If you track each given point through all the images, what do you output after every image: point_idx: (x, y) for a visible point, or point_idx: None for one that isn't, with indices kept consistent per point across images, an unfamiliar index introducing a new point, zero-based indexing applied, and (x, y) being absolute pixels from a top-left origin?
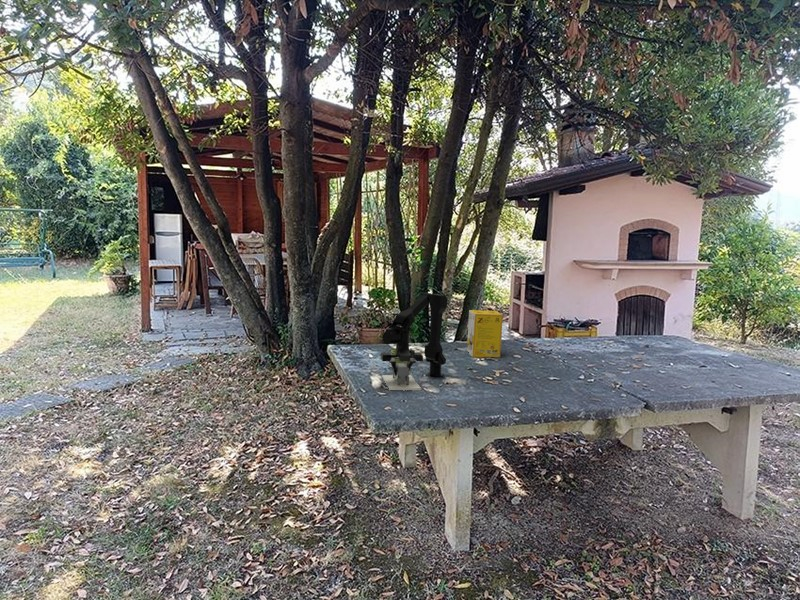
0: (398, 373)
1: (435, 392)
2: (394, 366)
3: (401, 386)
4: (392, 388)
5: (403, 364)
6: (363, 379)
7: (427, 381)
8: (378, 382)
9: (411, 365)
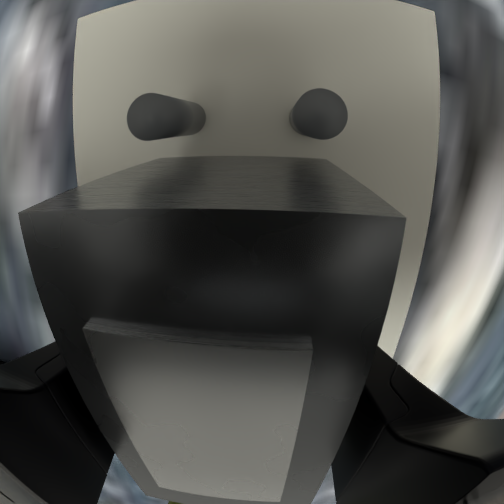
0: (336, 179)
1: (18, 8)
2: (404, 403)
3: (285, 53)
4: (407, 3)
5: (162, 466)
6: (488, 370)
7: (31, 297)
8: (445, 309)
9: (4, 364)
